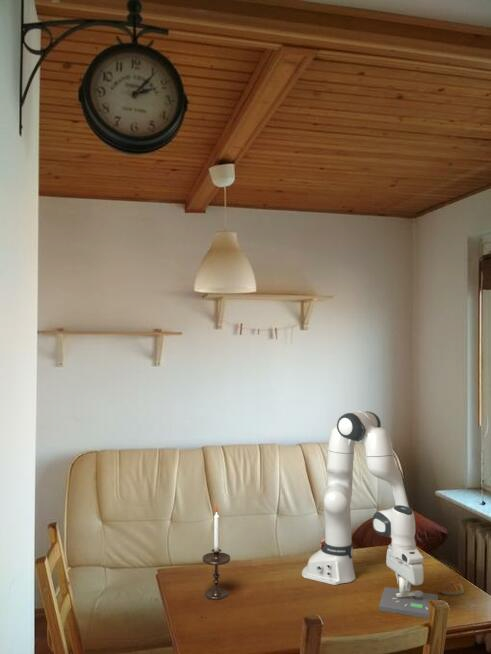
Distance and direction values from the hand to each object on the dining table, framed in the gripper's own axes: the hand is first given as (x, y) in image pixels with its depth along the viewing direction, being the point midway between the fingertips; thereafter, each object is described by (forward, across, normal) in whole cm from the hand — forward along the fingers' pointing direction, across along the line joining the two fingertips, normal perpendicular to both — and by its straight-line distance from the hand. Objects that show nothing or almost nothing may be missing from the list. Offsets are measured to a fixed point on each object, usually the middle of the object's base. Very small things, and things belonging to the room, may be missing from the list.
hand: (403, 587), depth 207 cm
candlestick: (+6, -26, -67) cm, 72 cm away
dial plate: (+6, +2, +1) cm, 6 cm away
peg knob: (+4, 0, +2) cm, 5 cm away
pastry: (+6, -3, +23) cm, 24 cm away
